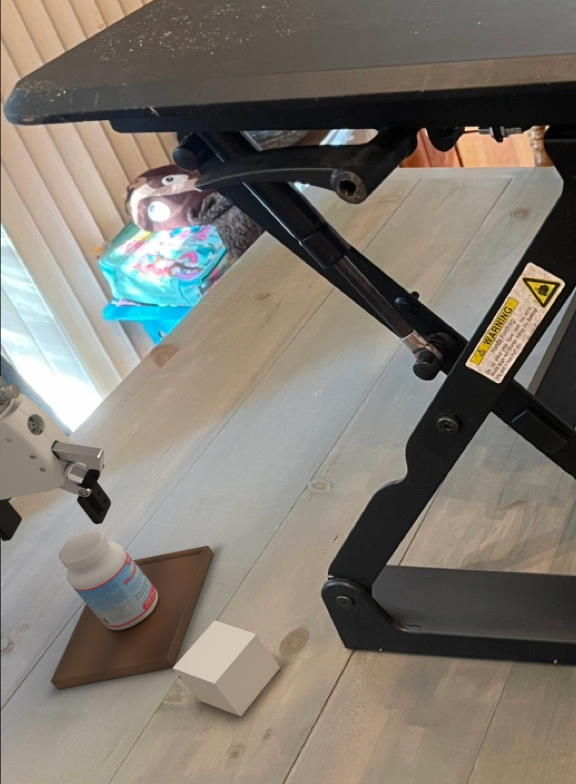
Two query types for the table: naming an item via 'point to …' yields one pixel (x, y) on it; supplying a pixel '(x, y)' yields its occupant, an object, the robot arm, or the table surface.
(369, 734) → the table surface
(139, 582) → the pill bottle
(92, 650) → the serving tray
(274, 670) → the white cube
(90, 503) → the robot arm
